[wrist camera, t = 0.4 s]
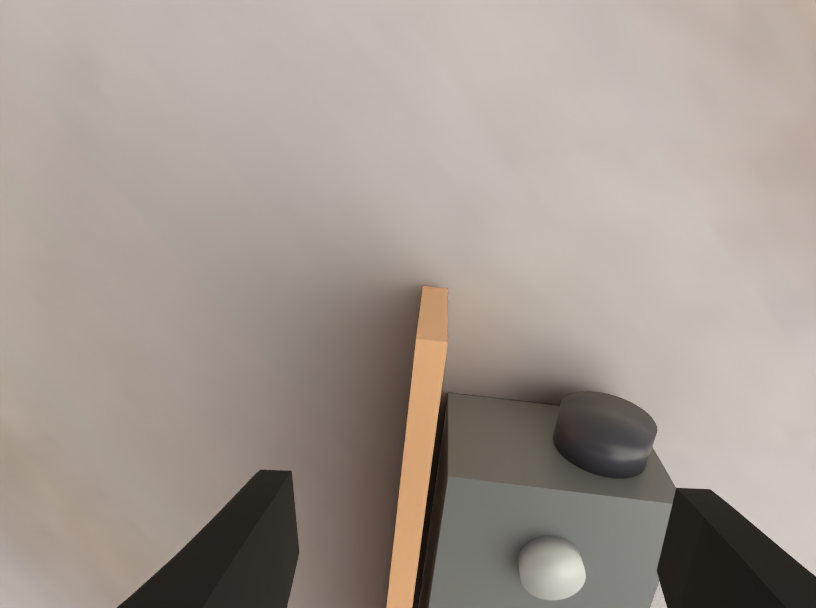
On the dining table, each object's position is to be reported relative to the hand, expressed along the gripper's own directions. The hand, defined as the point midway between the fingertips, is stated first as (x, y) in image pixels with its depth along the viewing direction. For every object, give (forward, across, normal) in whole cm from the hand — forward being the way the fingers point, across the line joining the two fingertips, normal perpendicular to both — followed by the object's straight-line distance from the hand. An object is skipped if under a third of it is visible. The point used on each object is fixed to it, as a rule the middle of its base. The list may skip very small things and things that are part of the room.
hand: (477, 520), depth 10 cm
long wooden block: (+8, +2, +7) cm, 11 cm away
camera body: (+8, -2, +9) cm, 12 cm away
